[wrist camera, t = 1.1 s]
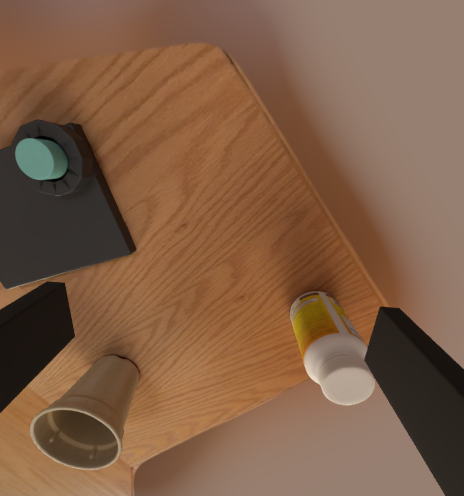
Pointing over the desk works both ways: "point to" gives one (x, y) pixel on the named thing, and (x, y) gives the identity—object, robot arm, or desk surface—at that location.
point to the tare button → (41, 159)
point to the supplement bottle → (331, 348)
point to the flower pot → (89, 417)
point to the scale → (56, 212)
